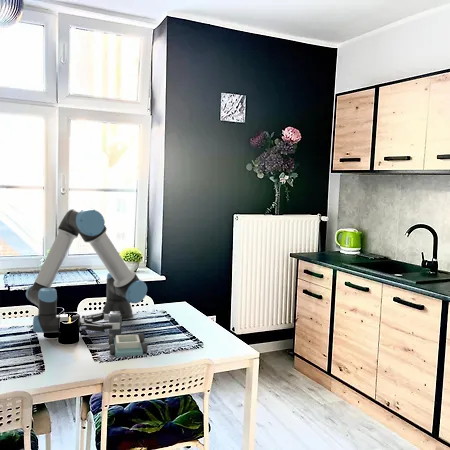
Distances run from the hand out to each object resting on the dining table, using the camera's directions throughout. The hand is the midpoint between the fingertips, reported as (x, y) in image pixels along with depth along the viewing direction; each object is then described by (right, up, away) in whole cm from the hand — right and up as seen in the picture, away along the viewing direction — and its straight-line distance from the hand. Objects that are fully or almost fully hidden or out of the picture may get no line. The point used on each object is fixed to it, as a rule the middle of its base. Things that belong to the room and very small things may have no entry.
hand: (119, 321), depth 218 cm
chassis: (+7, -8, -16) cm, 19 cm away
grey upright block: (-2, -6, 0) cm, 6 cm away
